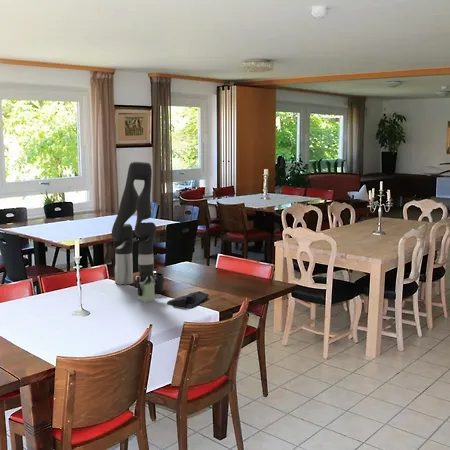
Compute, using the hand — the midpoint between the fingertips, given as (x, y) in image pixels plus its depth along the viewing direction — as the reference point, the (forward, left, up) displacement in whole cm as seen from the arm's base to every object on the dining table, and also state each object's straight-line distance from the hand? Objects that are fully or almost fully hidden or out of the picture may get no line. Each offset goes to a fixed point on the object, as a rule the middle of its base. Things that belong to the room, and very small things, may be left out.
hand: (146, 294), depth 279 cm
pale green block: (0, 0, -3) cm, 3 cm away
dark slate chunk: (+17, +12, -4) cm, 22 cm away
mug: (-9, +16, -4) cm, 19 cm away
